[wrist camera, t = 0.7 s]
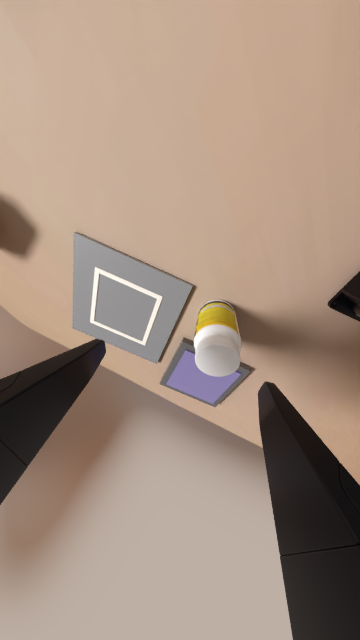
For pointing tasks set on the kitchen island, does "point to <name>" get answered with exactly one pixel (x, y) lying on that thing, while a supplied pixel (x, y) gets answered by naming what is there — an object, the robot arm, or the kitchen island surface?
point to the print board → (124, 299)
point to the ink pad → (199, 377)
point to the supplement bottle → (217, 339)
